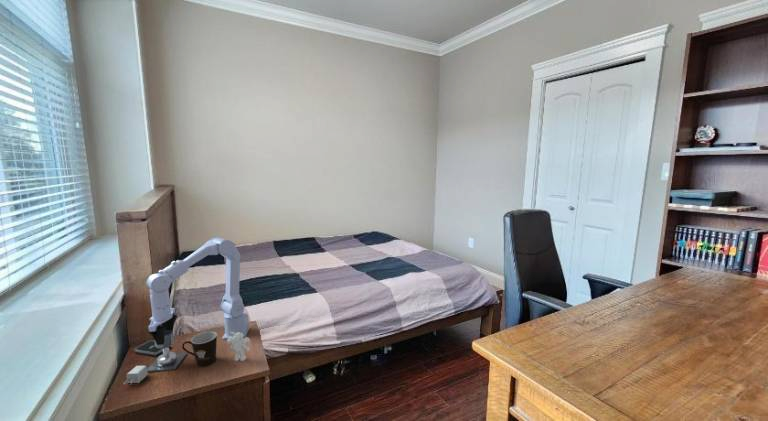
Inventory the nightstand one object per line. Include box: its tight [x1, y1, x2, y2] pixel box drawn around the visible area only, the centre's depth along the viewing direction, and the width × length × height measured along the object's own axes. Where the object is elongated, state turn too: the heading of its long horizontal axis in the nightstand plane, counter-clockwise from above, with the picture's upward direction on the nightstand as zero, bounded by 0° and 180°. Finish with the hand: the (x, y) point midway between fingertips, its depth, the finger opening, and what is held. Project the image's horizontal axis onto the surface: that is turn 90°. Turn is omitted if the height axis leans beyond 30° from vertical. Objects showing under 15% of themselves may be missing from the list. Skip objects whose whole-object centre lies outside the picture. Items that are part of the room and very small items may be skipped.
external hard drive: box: [134, 340, 172, 358], centre depth 131 cm, size 7×11×2 cm, turn 76°
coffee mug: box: [181, 331, 218, 368], centre depth 123 cm, size 12×9×10 cm
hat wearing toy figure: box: [226, 331, 251, 362], centre depth 124 cm, size 9×4×12 cm, turn 81°
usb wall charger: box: [123, 365, 149, 385], centre depth 111 cm, size 4×7×4 cm, turn 1°
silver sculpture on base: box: [147, 348, 188, 373], centre depth 122 cm, size 10×10×6 cm
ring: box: [153, 330, 175, 348], centre depth 121 cm, size 6×6×4 cm
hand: (164, 339), depth 121 cm, fingers closed on ring, 6 cm apart
